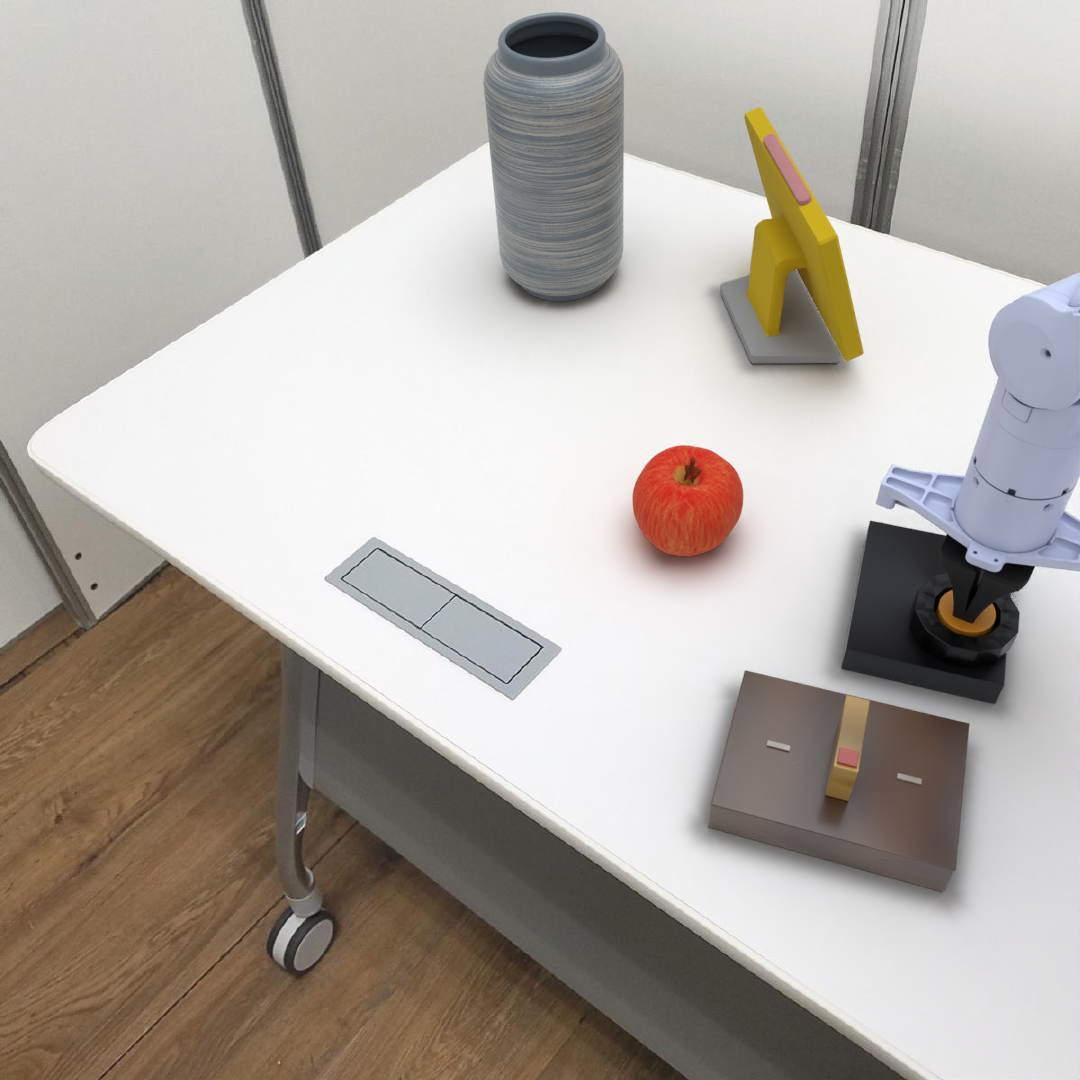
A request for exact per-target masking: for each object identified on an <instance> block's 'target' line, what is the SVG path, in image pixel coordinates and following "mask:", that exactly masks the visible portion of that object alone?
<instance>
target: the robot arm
mask: <svg viewBox="0 0 1080 1080" xmlns="http://www.w3.org/2000/svg"><path fill="white" fill-rule="evenodd" d="M987 338H988V340H987V341H988V343H987V344H988V345H987V346H988V353H989V358H990V362H991V365H992V368H993V370H994V372H995V375H996V376H997V381H996V383H995V386H994V389H993V392H992V394H991V398H990V401H989V403H988V407H987V410H986V412H985V416H984V418H983V421H982V424H981V427H980V430H979V433H978V435H977V438H976V442H975V445H974V447H973V451H972V454H971V456H970V459H969V462H968V466H967V468H966V471H965V473H964V475H961V474H950V473H942V472H941V473H940V472H931V471H922V470H916V469H911V468H908V467H907V468H906V467H903V466H900V465H897V464H894V463H893V464H891V465H890V467H889V468H888V470H887V472H886V473H885V476H884V477H883V479H882V481H881V483H880V485H879V489H878V492H877V497H876V501H875V505H876V506H880V507H882V508H884V509H888V510H892V509H894V508H895V506H896V505H899V506H901V507H904V508H906V509H909V510H910V511H911V510H912V511H914V512H915V513H916V514H918V515H920V517H922V518H923V519H925V520H927V521H928V522H929V523H931V525H932V524H933V526H935V527H937V528H938V529H939V530H941V531H942V532H943V533H945V535H946V538H945V540H944V542H943V543H942V546H941V549H940V561H941V563H942V564H943V566H944V567H945V569H946V571H947V573H948V576H949V578H950V582H951V586H952V591H953V614H952V615H953V616H954V617H956V618H959V619H961V620H964V621H966V622H969V623H971V624H972V623H974V621H975V620H976V618H977V617H978V616H979V615H980V614H981V613H982V612H983V611H984V610H985V609H986V608H987V607H988V606H989V605H991V604H992V603H993V602H995V601H996V600H998V599H1000V598H1001V597H1003V596H1005V595H1008V594H1010V593H1011V594H1013V593H1016V592H1020V591H1021V590H1022V589H1023V588H1024V587H1025V586H1026V585H1027V584H1028V583H1029V581H1030V580H1031V578H1032V575H1033V572H1034V570H1035V569H1036V567H1039V568H1046V569H1047V568H1048V569H1055V570H1064V571H1072V572H1080V519H1079V518H1077V517H1076V516H1075V515H1073V514H1071V513H1070V512H1068V511H1067V510H1066V508H1067V506H1068V504H1069V501H1070V499H1071V497H1072V495H1073V493H1074V491H1075V489H1076V486H1077V484H1078V482H1079V479H1080V271H1079V272H1077V273H1074V274H1071V275H1069V276H1067V277H1065V278H1062V279H1060V280H1057V281H1055V282H1053V283H1050V284H1048V285H1046V286H1043V287H1041V288H1039V289H1036V290H1034V291H1032V292H1029V293H1026V294H1023V295H1021V296H1020V297H1018V298H1016V299H1014V300H1013V301H1012V302H1010V303H1008V304H1006V305H1004V306H1003V307H1002V308H1000V310H999V311H997V313H996V315H995V316H994V318H993V319H992V321H991V323H990V327H989V332H988V337H987ZM982 568H983V569H985V571H984V573H983V576H982V579H981V581H980V583H979V584H978V582H979V578H980V575H981V571H982Z"/></svg>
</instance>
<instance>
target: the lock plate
mask: <svg viewBox="0 0 1080 1080" xmlns="http://www.w3.org/2000/svg"><path fill="white" fill-rule="evenodd" d="M846 695H849V696H853V697H857V698H861V699H866V700H869V701H870V705H869V711H868V717H867V723H866V729H865V735H864V741H863V747H862V753H861V759H860V765H859V772H858V775H857V778H856V781H855V784H854V787H853V790H852V793H851V796H850V799H849V801H846V800H842V799H838V798H834V797H831V796H827V795H825V791H826V786H827V780H828V775H829V769H830V764H831V758H832V753H833V747H834V742H835V736H836V731H837V726H838V722H839V719H840V715H841V712H842V708H843V705H844V701H845V698H846ZM729 726H730V728H729V731H728V734H727V738H726V742H725V746H724V750H723V754H722V758H721V762H720V766H719V770H718V774H717V778H716V781H715V786H714V790H713V794H712V798H711V801H710V807H709V813H708V821H707V827H708V828H710V829H714V830H717V831H721V832H725V833H728V834H732V835H735V836H739V837H742V838H746V839H749V840H750V839H751V840H752V841H753V840H754V841H757V842H760V843H765V844H768V845H772V846H775V847H778V848H783V849H787V850H789V851H793V852H797V853H800V854H804V855H807V856H808V855H809V856H812V857H815V858H818V859H822V860H826V861H830V862H833V863H837V864H839V865H845V866H848V867H851V868H856V869H859V870H862V871H866V872H870V873H873V874H877V875H881V876H884V877H888V878H891V879H895V880H899V881H902V882H906V883H910V884H912V885H917V886H921V887H924V888H927V889H931V890H935V891H939V892H942V893H943V892H945V890H946V889H947V887H948V885H949V884H950V881H951V880H952V878H953V877H954V874H955V872H956V870H957V861H958V852H959V851H958V849H959V839H960V829H961V818H962V809H963V797H964V787H965V776H966V775H965V774H966V766H967V765H966V764H967V755H968V745H969V735H970V723H969V722H966V721H965V722H964V721H961V720H956V719H952V718H947V717H943V716H940V715H935V714H931V713H927V712H923V711H918V710H914V709H910V708H906V707H902V706H897V705H893V704H889V703H885V702H882V701H877V700H872V699H868V698H864V697H859V696H856V695H851V694H846V693H843V692H838V691H834V690H830V689H825V688H822V687H818V686H814V685H809V684H804V683H801V682H797V681H792V680H788V679H784V678H779V677H775V676H771V675H767V674H763V673H758V672H755V671H751V670H746V669H745V670H744V672H743V676H742V680H741V684H740V688H739V692H738V696H737V699H736V703H735V706H734V711H733V715H732V720H731V722H730V725H729Z"/></svg>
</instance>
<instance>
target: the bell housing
mask: <svg viewBox="0 0 1080 1080" xmlns="http://www.w3.org/2000/svg"><path fill="white" fill-rule="evenodd" d="M946 535H947V534H940V533H936V532H930V531H925V530H920V529H915V528H910V527H905V526H900V525H896V524H890V523H886V522H880V521H875V520H869V523H868V527H867V530H866V535H865V537H864V542H863V548H862V554H861V559H860V563H859V569H858V575H857V580H856V585H855V591H854V595H853V600H852V601H853V602H852V605H851V606H852V607H851V611H850V617H849V623H848V628H847V633H846V639H845V644H844V648H843V655H842V660H841V666H840V668H841V669H843V670H848V671H852V672H856V673H860V674H865V675H869V676H873V677H877V678H882V679H885V680H889V681H894V682H899V683H902V684H903V683H904V684H908V685H911V686H916V687H921V688H926V689H929V690H932V691H933V690H934V691H937V692H943V693H946V694H951V695H955V696H958V697H964V698H967V699H973V700H976V701H981V702H984V703H988V704H993V705H995V704H996V703H997V701H998V699H999V697H1000V695H1001V694H1002V691H1003V688H1004V687H1005V679H1006V667H1007V665H1006V664H1007V653H1008V652H1009V650H1011V649H1012V647H1013V644H1014V642H1015V641H1016V638H1017V636H1018V634H1019V630H1020V629H1019V628H1020V610H1019V608H1018V607H1017V605H1016V603H1015V602H1014V600H1013V598H1012V597H1011V596H1012V593H1010V594H1008V595H1005V596H1003V597H1001V598H1000V599H998V600H996V601H995V602H993V603H992V604H993V606H994V608H995V611H996V619H995V622H994V624H993V627H992V629H991V631H990V633H989V634H987V635H982V636H977V637H970V636H966V635H961V634H957V633H955V632H953V631H952V630H950V629H949V628H947V627H946V626H944V625H943V624H941V623H940V621H939V619H938V617H937V615H936V614H935V613H936V610H937V607H938V604H939V602H940V599H941V598H942V596H943V595H944V594H946V593H947V592H949V591H951V590H952V586H951V582H950V578H949V576H948V573H947V571H946V569H945V567H944V566H943V564H942V563H941V561H940V549H941V546H942V543H943V542H944V540H945V538H946ZM984 571H985V569H983V568H982V571H981V575H980V578H979V582H978V584H979V583H980V581H981V579H982V576H983V573H984Z"/></svg>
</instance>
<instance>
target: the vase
mask: <svg viewBox="0 0 1080 1080" xmlns="http://www.w3.org/2000/svg"><path fill="white" fill-rule="evenodd" d="M624 72H625V71H624V66H623V63H622V61H621V58H620V56H619V54H618V53H617V51H616V50H615V48H613V46H611V44H610V43H609V42H607V36H606V32H605V30H604V28H603V26H602V25H601V24H600V23H598V22H597V21H596V20H594V19H592V18H590V17H588V16H585V15H581V14H577V13H572V12H571V13H570V12H557V11H556V12H555V11H554V12H544V13H542V12H541V13H537V14H532V15H528V16H524V17H522V18H520V19H517V20H515V21H513V22H512V23H510V24H508V25H507V26H506V27H504V29H502V31H501V32H500V34H499V35H498V38H497V48H496V49H495V51H494V52H493V53H492V55H491V56H490V58H489V59H488V62H487V64H486V66H485V69H484V73H483V81H482V82H483V83H482V84H483V91H484V103H485V113H486V123H487V124H486V125H487V133H488V144H489V154H490V156H489V157H490V166H491V175H492V185H493V194H494V195H493V197H494V205H495V217H496V227H497V228H496V229H497V239H498V248H499V256H500V261H501V264H502V266H503V268H504V270H505V271H506V274H507V275H508V276H509V277H510V278H511V279H512V280H513V281H514V282H515V283H516V284H518V285H519V286H521V288H522V289H523V290H524V291H525V292H527V293H528V294H530V295H531V296H533V297H536V298H539V299H540V300H541V299H542V300H545V301H549V302H550V301H551V302H569V301H575V300H580V299H583V298H585V297H588V296H590V295H591V294H593V293H595V292H597V291H598V290H599V289H600V288H601V287H602V286H603V285H604V284H605V283H606V281H607V280H609V279H610V277H611V276H612V275H614V273H615V272H616V270H617V269H618V267H619V265H620V263H621V261H622V258H623V253H624V178H625V177H624V176H625V175H624V163H625V161H624V160H625V159H624V158H625V157H624V154H625V153H624V150H625V149H624V148H625V145H624V143H625V142H624V141H625V140H624V139H625V138H624V135H625V133H624V132H625V131H624V130H625V122H624V121H625V119H624V118H625V114H624V113H625V110H624V109H625V97H624V96H625V74H624Z"/></svg>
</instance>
